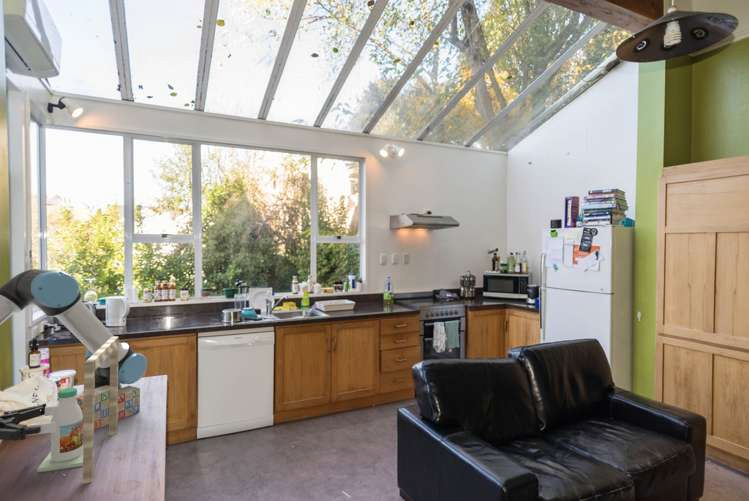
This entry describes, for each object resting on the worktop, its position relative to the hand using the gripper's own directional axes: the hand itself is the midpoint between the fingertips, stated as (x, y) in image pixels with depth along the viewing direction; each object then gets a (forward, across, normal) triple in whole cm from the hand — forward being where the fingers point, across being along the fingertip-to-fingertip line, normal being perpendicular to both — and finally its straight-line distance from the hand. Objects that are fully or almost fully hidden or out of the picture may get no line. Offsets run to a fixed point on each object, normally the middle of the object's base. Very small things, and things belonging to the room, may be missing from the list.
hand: (63, 417), depth 123 cm
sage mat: (+1, 0, -13) cm, 13 cm away
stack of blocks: (+6, -28, -13) cm, 31 cm away
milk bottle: (+1, 0, -12) cm, 12 cm away
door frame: (+10, 0, -13) cm, 16 cm away
